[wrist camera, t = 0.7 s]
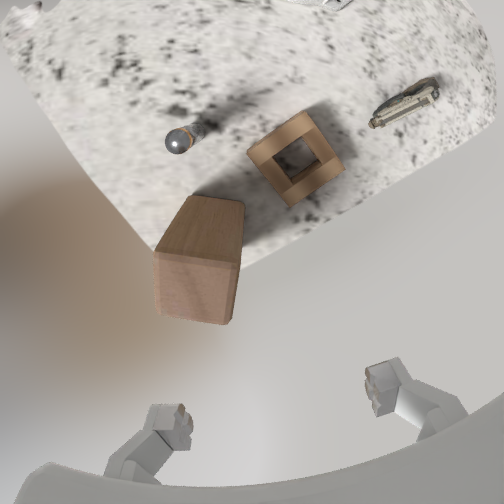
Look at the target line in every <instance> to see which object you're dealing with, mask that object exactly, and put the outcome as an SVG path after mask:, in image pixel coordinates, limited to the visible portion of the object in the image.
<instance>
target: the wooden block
mask: <svg viewBox="0 0 504 504" xmlns="http://www.w3.org/2000/svg"><path fill="white" fill-rule="evenodd" d="M244 216H245V205H244V203H242V202H240V201H233V200H226V199H219V198H212V197H204V196H196V195H191V196H188V198H187V199H186V201H185V202H184V204H183V205H182V207H181V208H180V210H179V211H178V213H177V214H176V216H175V218H174V219H173V221H172V222H171V224H170V225H169V227H168V229H167V230H166V232H165V233H164V235H163V237H162V238H161V240H160V241H159V243H158V245H157V246H156V248H155V250H154V252H153V263H154V264H153V266H154V289H155V304H156V311H157V312H158V313H159V314H161V315H163V316H169V317H175V318H181V319H187V320H193V321H199V322H206V323H213V324H220V325H225V324H228V323H229V321H230V320H231V319H232V314H233V308H234V302H235V296H236V290H237V283H238V277H239V271H240V265H241V252H242V240H243V228H244Z"/></svg>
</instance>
